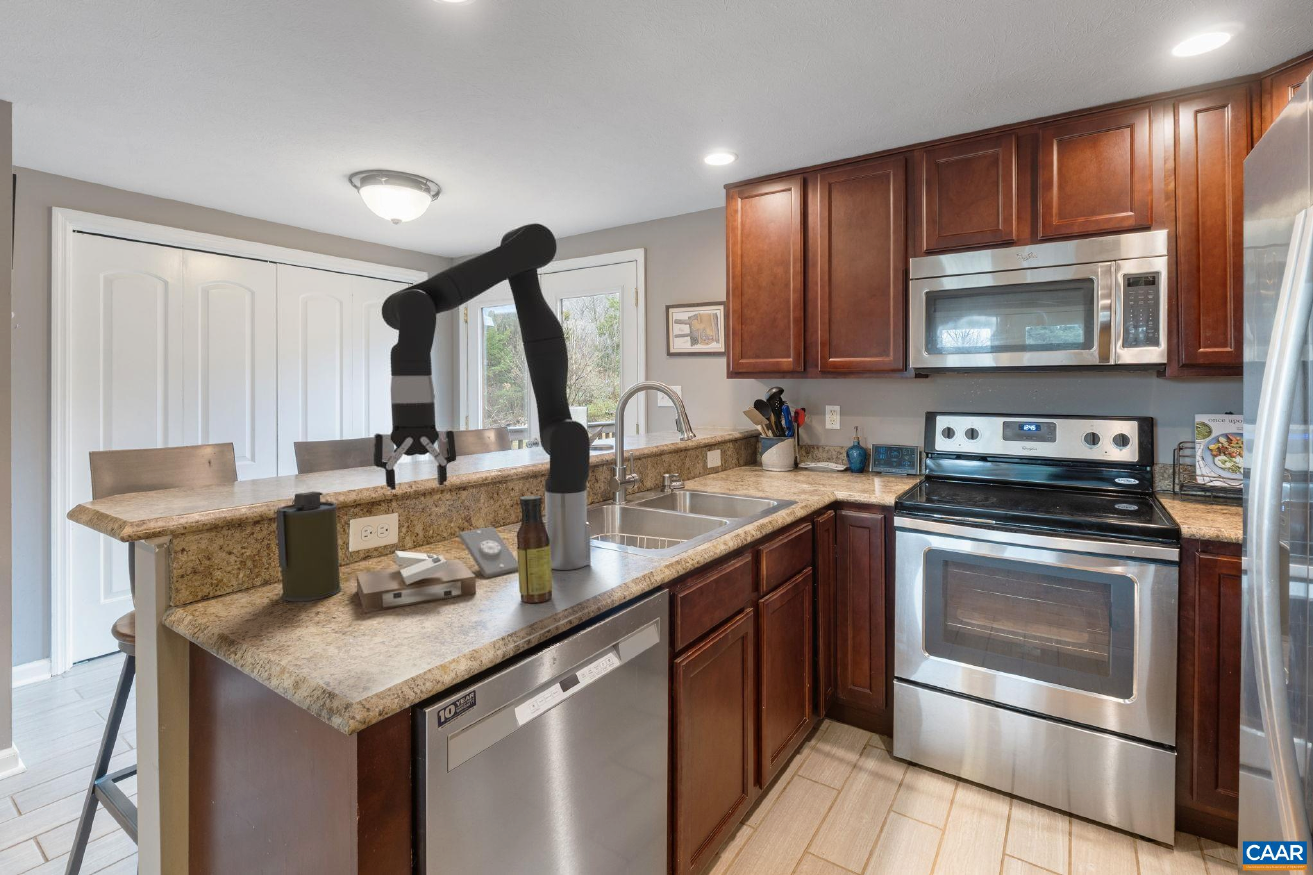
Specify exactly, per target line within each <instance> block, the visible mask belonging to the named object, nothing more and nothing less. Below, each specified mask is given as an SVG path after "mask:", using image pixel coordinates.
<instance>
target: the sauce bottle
mask: <svg viewBox="0 0 1313 875" xmlns="http://www.w3.org/2000/svg"><path fill="white" fill-rule="evenodd" d="M542 498H543V497H542V496H541V495H535V494H534V495H533V494H532V495H525V496H521V497H520V498H519V504H520V506H521V507H520V508H521V522H520V526H519V528H518V530H517V533H516V542H517V543H516V546H517V547H516V553H517V561H518V571H517V573H518V587H519V588H518V590H519V594H520V600H521V601H522V602H524V603H525V602H526V603H527V604H538V603H539V604H540V603H544V602H547V601H549V600H550V599H551V598H552V597H553V595H552V594H553V592H552V590H553V573H552V572H553V571H552V568H551V553H550V539H549V537H548V534H547V531H546V524H545V523H544V520H543V515H542V514H543V513H542V504H543V500H542Z"/></svg>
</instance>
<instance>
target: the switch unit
mask: <svg viewBox="0 0 1313 875" xmlns="http://www.w3.org/2000/svg"><path fill="white" fill-rule="evenodd" d="M446 561H447V564H448V567H449V569H446V570H444V571H441V572H438V573H436V574H433V575H431V576H428V577H425V578H423V579H420V580H418V581H415V582H413V583H410V584H407V585H406V583H405V581H404V580H403V578H402V575H401V572H400V570H402V569H405V568H407V567H410V566H409V565H406V566H400V567H395V568H394V567H393V568H386V569H379V570H373V571H367V572H366V571H365V572H359V573H356V574H355V575H356V591H357V594H358V597H359V600H360V602H361V606H362V607H363V611H364V613H370V612H371V613H372V612H377V611H383V610H388V609H394V608H399V607H405V606H410V605H416V604H423V603H427V602H433V601H439V600H446V599H451V598H457V597H464V596H469V595H474V594H475V595H476V594H477V586H476V585H477V584H476V583H477V582H476V580H477V579H476V578H477V577H476V575H475V574H474V573H473V572H472V571H471V570H470V569H469V568H468V567H467V566H466V564H464V563H463V562H462V561H461V560H460V559H458V558H457V559H450V560H449V559H448V560H446Z"/></svg>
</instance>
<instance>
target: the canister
mask: <svg viewBox="0 0 1313 875" xmlns="http://www.w3.org/2000/svg"><path fill="white" fill-rule="evenodd" d="M322 495H324V493H323V492H320V491H307V492H297V493H296V494H294V499H292V500H293V501H292V503H291V504H286V505H284V506H281V507H278V508H277V509H276V510H275V514H276V515H275V516H276V531H277V532H276V534H277V551H278V567H280V569H281V583H282V584H281V585H282V594H281V599H282V600H284V601H286V602H294V603H300V602H312V601H319V600H321V599H325V598H329V597H333V596H335V595H337V594H338V593H340V591H342V586H341V576H340V574H341V572H340V557H339V556H340V553H339V551H340V550H339V534H338V533H339V532H338V512H337V508H338V505H339V504H337V503H336V502H332V501H321V496H322Z"/></svg>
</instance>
